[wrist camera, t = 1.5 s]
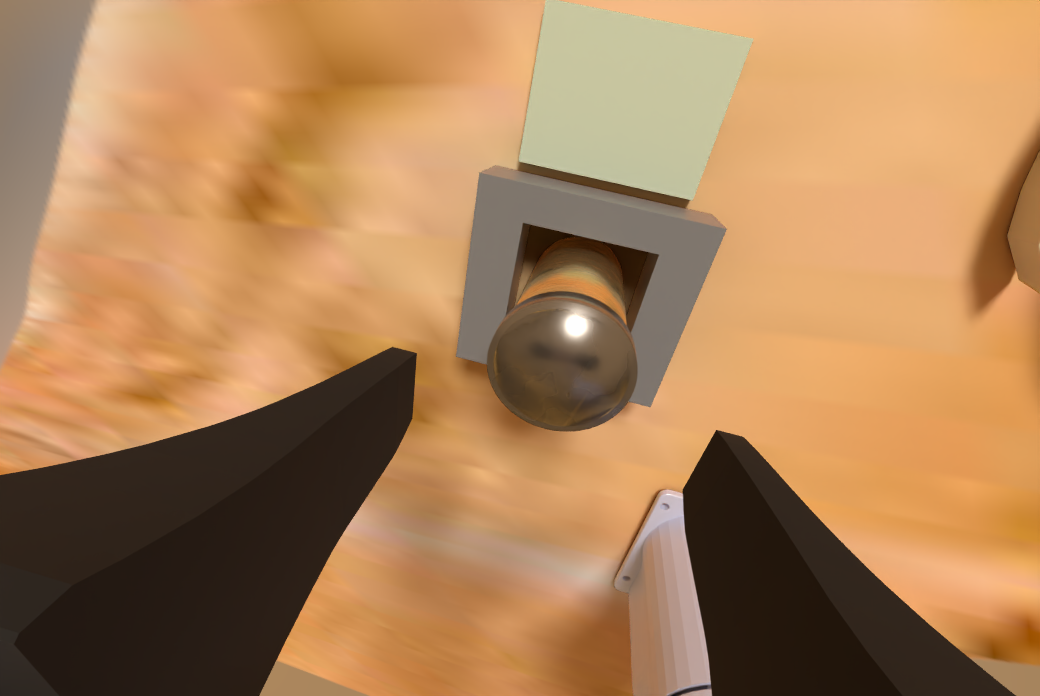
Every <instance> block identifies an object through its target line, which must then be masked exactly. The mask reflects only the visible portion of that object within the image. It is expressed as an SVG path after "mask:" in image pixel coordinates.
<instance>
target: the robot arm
mask: <svg viewBox="0 0 1040 696" xmlns="http://www.w3.org/2000/svg"><path fill="white" fill-rule="evenodd" d="M416 356H417V353H414V352H410V351H406V350H402V349H398V348H394V347H392V348H389V349H387V350H385V351H383V352H381V353H379V354H377V355H375V356H373V357H371V358H369V359H367V360H365V361H363V362H361V363H359V364H357V365H355V366H353V367H351V368H349V369H347V370H345V371H343V372H341V373H339V374H337V375H335V376H333V377H331V378H329V379H327V380H325V381H323V382H321V383H319V384H316V385H314V386H312V387H309V388H307V389H305V390H303V391H300V392H298V393H296V394H293V395H291V396H289V397H287V398H284V399H282V400H280V401H277V402H275V403H273V404H270V405H268V406H265V407H262V408H260V409H257V410H255V411H252V412H249V413H246V414H244V415H241V416H238V417H235V418H232V419H229V420H226V421H223V422H221V423H218V424H214V425H211V426H208V427H205V428H201V429H198V430H195V431H191V432H188V433H184V434H181V435H177V436H174V437H170V438H167V439H163V440H160V441H156V442H153V443H149V444H146V445H142V446H138V447H134V448H130V449H125V450H121V451H117V452H113V453H109V454H105V455H100V456H96V457H91V458H86V459H82V460H77V461H73V462H68V463H63V464H58V465H53V466H49V467H44V468H38V469H33V470H27V471H21V472H16V473H10V474H4V475H0V696H259V695H260V693H261V691H262V689H263V687H264V684H265V683H266V681H267V678H268V676H269V674H270V672H271V670H272V668H273V666H274V664H275V662H276V660H277V658H278V656H279V654H280V652H281V650H282V647H283V645H284V643H285V641H286V639H287V637H288V635H289V633H290V631H291V629H292V628H293V626H294V624H295V622H296V620H297V618H298V616H299V614H300V612H301V610H302V608H303V606H304V604H305V602H306V600H307V598H308V596H309V594H310V592H311V590H312V588H313V586H314V585H315V583H316V581H317V579H318V577H319V575H320V573H321V571H322V569H323V568H324V566H325V564H326V562H327V560H328V558H329V556H330V554H331V553H332V551H333V549H334V547H335V546H336V544H337V542H338V541H339V539H340V537H341V536H342V534H343V532H344V531H345V529H346V528H347V526H348V525H349V523H350V522H351V520H352V519H353V517H354V516H355V514H356V513H357V511H358V510H359V508H360V507H361V505H362V503H363V502H364V500H365V499H366V497H367V496H368V494H369V493H370V491H371V490H372V488H373V487H374V485H375V484H376V482H377V481H378V479H379V478H380V476H381V475H382V473H383V472H384V470H385V468H386V467H387V465H388V464H389V462H390V461H391V459H392V458H393V456H394V454H395V453H396V451H397V449H398V447H399V445H400V443H401V441H402V439H403V437H404V435H405V433H406V431H407V428H408V426H409V424H410V422H411V420H412V415H413V400H414V386H415V371H416ZM663 503H665V505H664V504H663ZM614 587H615V588H616V589H617V590H618V591H621V592H625V593H628V594H629V618H630V644H631V670H632V689H633V696H1016V695H1014V694H1013V693H1012V692H1010V691H1009V690H1008V689H1007V688H1005V687H1004V686H1003V685H1002V684H1000V683H999V682H998V681H996V679H994V678H993V677H992V676H991V675H989V674H988V673H987V672H986V671H984V670H983V669H982V668H981V667H980V666H978V665H977V664H976V663H975V662H973V661H972V660H971V659H970V658H969V657H967V656H966V655H965V654H964V653H962V652H961V651H960V650H959V649H958V648H956V647H955V646H954V645H953V644H951V643H950V642H949V641H948V640H947V639H946V638H944V637H943V636H942V635H941V634H940V633H939V632H937V631H936V630H935V629H934V628H933V627H932V626H930V625H929V624H928V623H927V622H926V621H925V620H924V619H922V618H921V617H920V616H919V615H918V614H917V613H916V612H915V611H914V610H912V609H911V608H910V607H909V606H908V605H907V604H906V603H905V602H904V601H902V600H901V599H900V598H899V597H898V596H897V595H896V594H895V593H894V592H892V591H891V590H890V589H889V588H888V587H887V586H886V585H885V584H884V583H883V582H882V581H881V580H879V579H878V578H877V577H876V576H875V575H874V574H873V573H872V572H871V571H870V570H869V569H868V568H867V567H866V566H865V565H864V564H863V563H862V562H861V561H860V560H859V559H858V558H857V557H856V556H855V555H854V554H853V553H852V552H851V551H850V550H849V549H848V548H847V547H846V546H845V545H844V544H843V543H842V542H841V541H840V540H839V539H838V538H837V537H836V536H835V535H834V534H833V533H832V532H831V531H830V530H829V529H828V528H827V527H826V526H825V525H824V523H823V522H822V521H821V520H820V519H819V518H818V517H817V516H816V515H815V514H814V513H813V512H812V511H811V510H810V509H809V507H808V506H807V505H806V504H805V503H804V502H803V501H802V500H801V499H800V498H799V497H798V495H797V494H796V493H795V492H794V491H793V490H792V489H791V488H790V487H789V485H788V484H787V483H786V482H785V481H784V480H783V479H782V478H781V477H780V475H779V474H778V473H777V472H776V471H775V470H774V469H773V468H772V467H771V465H770V464H769V463H768V462H767V461H766V460H765V459H764V458H763V457H762V456H761V455H760V453H759V452H758V451H757V450H756V449H755V448H754V447H753V446H752V445H751V444H750V443H749V442H748V441H747V440H746V439H745V438H744V437H742V436H738V435H734V434H730V433H726V432H722V431H718V430H716V432H715V433H714V435H713V437H712V439H711V441H710V442H709V444H708V446H707V448H706V449H705V451H704V453H703V455H702V457H701V458H700V460H699V462H698V464H697V465H696V467H695V469H694V471H693V473H692V474H691V476H690V478H689V480H688V481H687V483H686V485H685V487H684V489H683V493H679V492H676V491H672V490H662V491H660V492H659V493H658V495H657V497H656V499H655V501H654V503H653V505H652V507H651V509H650V511H649V513H648V515H647V517H646V519H645V521H644V523H643V525H642V527H641V529H640V531H639V533H638V535H637V537H636V539H635V541H634V543H633V545H632V546H631V548H630V550H629V552H628V554H627V556H626V558H625V560H624V562H623V564H622V566H621V568H620V570H619V572H618V574H617V576H616V578H615V580H614Z"/></svg>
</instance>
